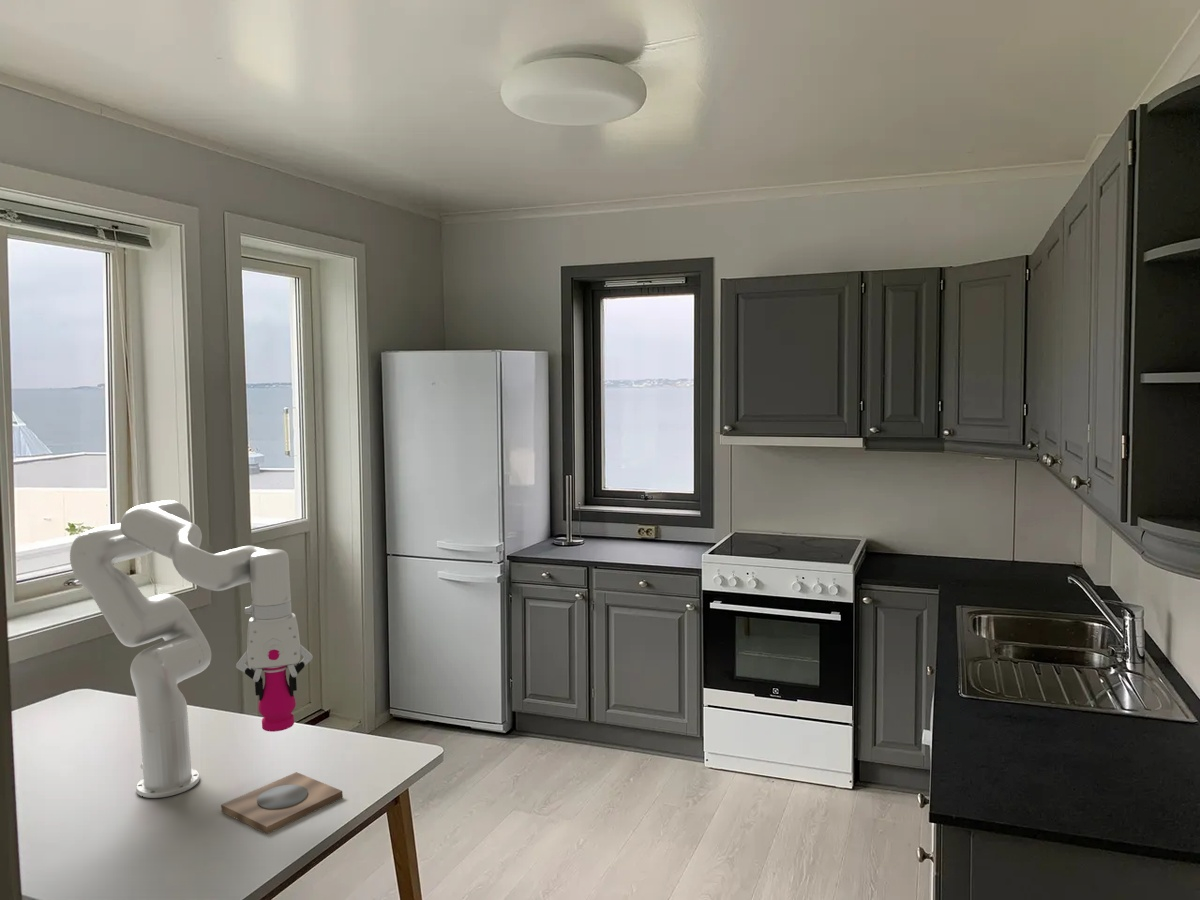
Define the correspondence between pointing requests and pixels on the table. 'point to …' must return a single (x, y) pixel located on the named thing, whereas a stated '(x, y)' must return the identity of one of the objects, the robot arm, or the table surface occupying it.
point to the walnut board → (281, 802)
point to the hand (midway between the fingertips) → (276, 695)
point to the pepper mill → (276, 698)
